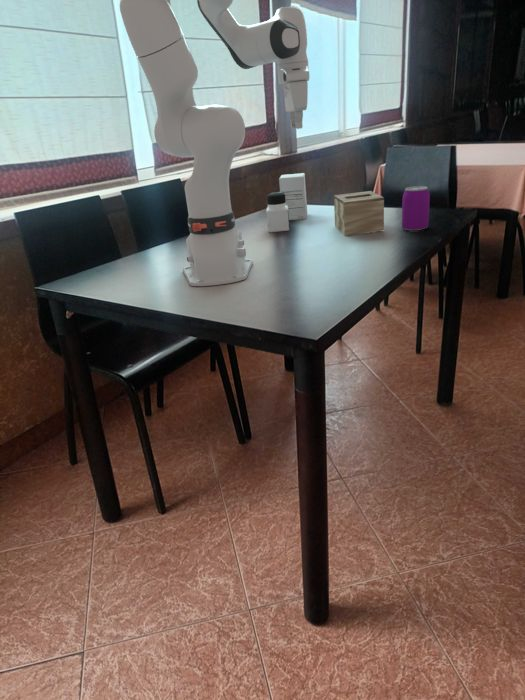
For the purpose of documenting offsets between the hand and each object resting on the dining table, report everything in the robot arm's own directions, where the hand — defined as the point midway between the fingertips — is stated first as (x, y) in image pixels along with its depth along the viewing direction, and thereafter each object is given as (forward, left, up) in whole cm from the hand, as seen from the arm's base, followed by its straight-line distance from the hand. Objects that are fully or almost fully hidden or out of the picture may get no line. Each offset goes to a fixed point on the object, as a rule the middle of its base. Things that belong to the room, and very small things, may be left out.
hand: (296, 128), depth 147 cm
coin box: (-5, -17, -31) cm, 36 cm away
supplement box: (+25, -1, -31) cm, 40 cm away
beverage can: (-14, -32, -31) cm, 47 cm away
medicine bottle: (+8, +7, -31) cm, 33 cm away
